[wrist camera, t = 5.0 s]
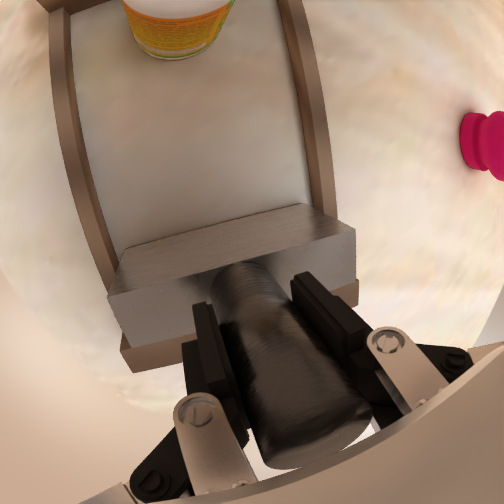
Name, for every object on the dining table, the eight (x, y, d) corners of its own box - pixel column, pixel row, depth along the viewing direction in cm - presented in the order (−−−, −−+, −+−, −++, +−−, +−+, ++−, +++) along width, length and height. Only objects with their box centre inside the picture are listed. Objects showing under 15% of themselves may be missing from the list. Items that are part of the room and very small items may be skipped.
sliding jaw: (124, 249, 17) (68, 461, 4) (304, 203, 19) (488, 310, 6) (139, 290, 18) (128, 501, 5) (308, 243, 20) (462, 374, 7)
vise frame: (58, -9, 8) (17, -63, 1) (276, -46, 11) (325, -103, 4) (138, 341, 19) (134, 427, 12) (330, 285, 22) (391, 343, 15)
